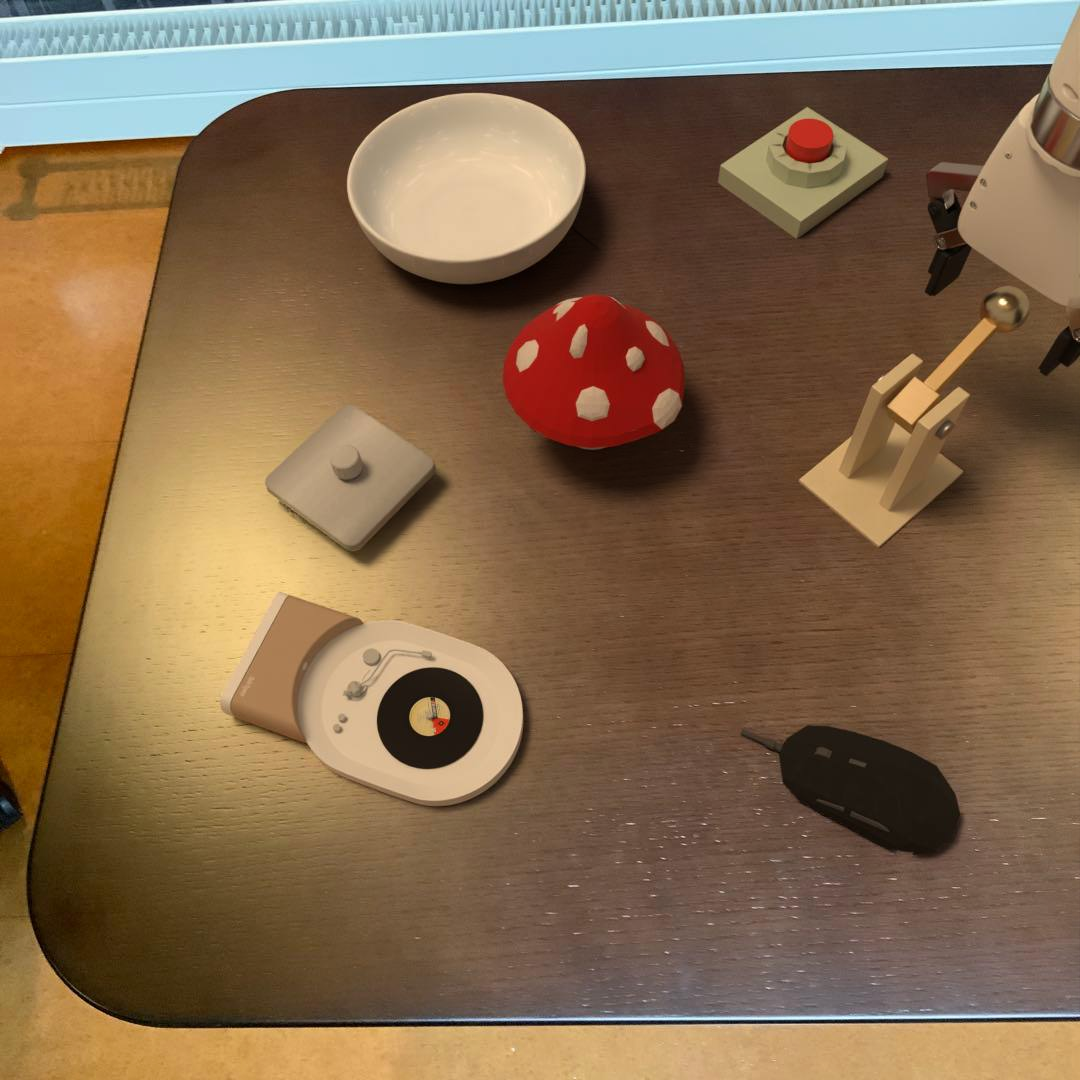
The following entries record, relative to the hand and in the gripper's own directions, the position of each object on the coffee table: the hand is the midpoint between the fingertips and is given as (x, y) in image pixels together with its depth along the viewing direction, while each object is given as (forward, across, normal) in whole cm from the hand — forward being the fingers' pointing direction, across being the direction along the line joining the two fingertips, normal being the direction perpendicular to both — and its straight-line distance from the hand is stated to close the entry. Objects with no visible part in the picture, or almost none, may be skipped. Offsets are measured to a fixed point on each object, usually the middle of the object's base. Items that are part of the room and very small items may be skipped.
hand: (996, 323), depth 74 cm
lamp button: (+9, +27, -13) cm, 31 cm away
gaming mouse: (+13, -14, +28) cm, 34 cm away
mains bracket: (+12, 0, +8) cm, 15 cm away
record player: (+13, +11, +48) cm, 51 cm away
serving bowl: (+13, +43, +14) cm, 47 cm away
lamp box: (+12, +27, -13) cm, 32 cm away
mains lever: (+2, 0, +3) cm, 4 cm away
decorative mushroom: (+13, +19, +21) cm, 31 cm away
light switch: (+13, +27, +39) cm, 49 cm away
